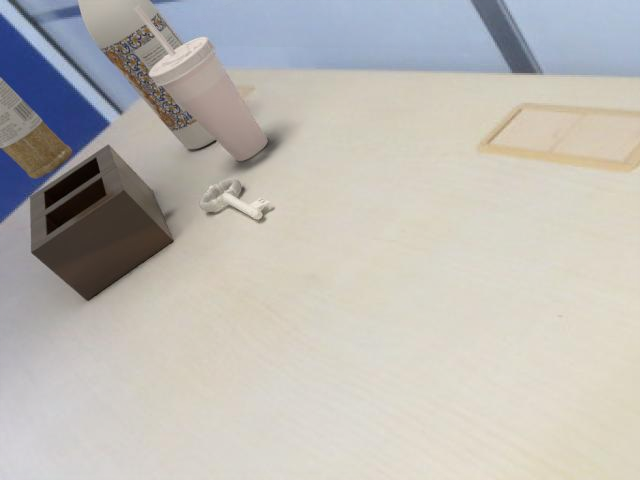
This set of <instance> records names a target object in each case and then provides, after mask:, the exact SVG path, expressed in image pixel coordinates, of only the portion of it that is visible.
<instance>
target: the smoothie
mask: <svg viewBox="0 0 640 480" xmlns="http://www.w3.org/2000/svg"><path fill="white" fill-rule="evenodd" d="M134 11H135V12H136V13H137V14H138V16H139V17H140V18H141V19H142V21H143V22H144V23H145V24H146V26H147V27H148V28H149V29H150V31H151V32H152V33H153V34H154V36H155V37H156V38H157V39H158V41H159V42H160V43H161V44H162V46H163V47H164V48H165V49H166V51H167V52H168V53H169V54H168V55H166V56H164V58H162V59H161V60H160V61H159V62H158V63H156V64H155V65H154V66H153V68H152V69H151V70H150V72H149V76H150V77H151V79H152V80H153V81H154V82H155V84H156V85H157V86H162V87H163V88H164V89H165V90H166V91H167V92H168V93H169V94H170V95H171V96H172V97H173V98H174V99H175V100H176V101H177V102H178V103H179V104H180V105H181V106H182V107H183V108H184V109H185V110H186V111H187V112H188V113H189V114H190V115H191V116H192V117H193V118H194V119H195V120H196V121H197V122H198V123H199V124H200V125H201V126H202V127H203V128H204V129H205V130H206V131H207V132H208V133H209V134H210V135H211V136H212V137H214V138H215V139H216V140H215V141H216V142H217V143H218V144H219V145H220V146H221V147H222V148H223V149H224V150H225V151H226V152H227V153H228V154H230V155H231V157H233V158H234V160H235V161H236V162H243V161H246V160H249V159H251V158H253V157H254V156H257V154H259V153H260V152H261V151H262V150H263V149H264V148H265V147H266V146H267V144H268V143H269V140H268V138H267V136H266V135H265V133H264V132H263V130H262V128H261V126H260V125H259V123H258V121H257V120H256V118H255V117H254V114H253V113H252V112H251V110H250V108H249V106H248V105H247V103H246V101H245V100H244V98H243V97H242V95H241V93H240V91H239V89H238V88H237V86H236V85H235V84H234V81H233V80H232V78H231V77H230V75H229V74H228V73H227V72H228V71H226V68H225V67H224V65H223V64H222V62H221V60H220V59H219V57H218V56H217V54H216V52H215V51H216V46H215V45H214V44H213V43H212V41H211V40H210V39H209V37H208V36H200V37H197V38H194V39H191V40H189V41H187V42H184V44H183V45H182V46H180V47H178V48H177V49H175V50H173V48H172V47H171V46H170V45H169V43H168V42H167V41H166V40H165V38H164V37H163V36H162V34H161V33H160V32H159V31H158V29H157V28H156V27H155V26H154V24H153V23H152V22H151V21H150V19H149V18H148V17H147V15H146V14H145V13H144V12H143V10H142V9H141V8H140V7H139V6H137V7H136V8H134Z"/></svg>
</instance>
